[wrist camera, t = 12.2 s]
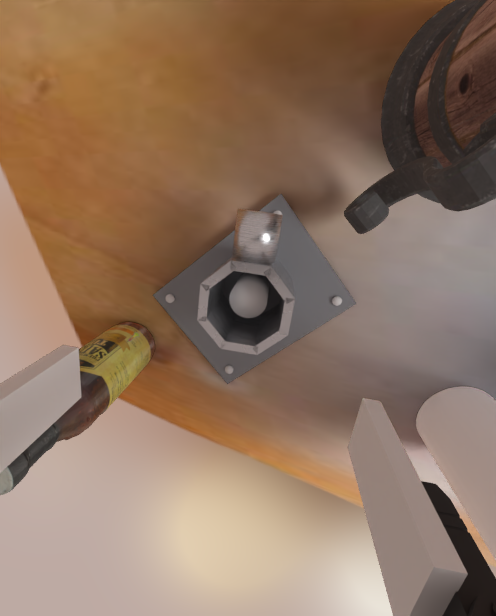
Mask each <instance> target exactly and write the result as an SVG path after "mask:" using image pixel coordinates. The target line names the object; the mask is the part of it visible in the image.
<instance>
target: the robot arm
mask: <svg viewBox="0 0 496 616" xmlns="http://www.w3.org/2000/svg"><path fill="white" fill-rule="evenodd" d="M80 398H81V381H80V363H79V348H78V347H73V346H67V345H62V346H60V347H59V348H57V349H56V350H54V351H52V352H51V353H49V354H47V355H46V356H44V357H43V358H41V359H39V360H38V361H36V362H35V363H33V364H31V365H30V366H28V367H26V368H25V369H23V370H22V371H20V372H18V373H17V374H15V375H14V376H12V377H10V378H9V379H7V380H5V381H4V382H2V383H1V384H0V473H1V472H2V471H3V470H4V469H5V468H6V467H7V466H8V465H10V464H11V463H12V462H13V461H14V460H15V459H16V458H17V457H18V456H19V455H20V454H21V453H22V452H23V451H25V450H26V449H27V448H28V447H29V446H30V445H31V444H32V443H33V442H34V441H35V440H36V439H37V438H38V437H40V436H41V435H42V434H43V433H44V432H45V431H46V430H47V429H48V428H49V427H50V426H51V425H52V424H53V423H54V422H56V421H57V420H58V419H59V418H60V417H61V416H62V415H63V414H64V413H65V412H66V411H67V410H68V409H69V408H71V407H72V406H73V405H74V404H75V403H76V402H77V401H78V400H79V399H80ZM348 450H349V454H350V458H351V461H352V465H353V469H354V472H355V476H356V480H357V483H358V487H359V491H360V495H361V498H362V502H363V506H364V509H365V513H366V517H367V520H368V524H369V528H370V531H371V535H372V539H373V542H374V546H375V550H376V554H377V557H378V561H379V565H380V568H381V572H382V576H383V579H384V583H385V587H386V591H387V594H388V598H389V602H390V605H391V609H392V613H393V616H496V578H495V576H494V575H493V573H492V571H491V570H490V568H489V566H488V564H487V562H486V561H485V559H484V557H483V555H482V554H481V552H480V550H479V549H478V547H477V545H476V543H475V542H474V540H473V538H472V536H471V535H470V533H468V532H467V528H466V526H465V524H464V522H463V521H462V519H460V518H459V514H458V512H457V510H456V509H455V507H454V505H453V503H452V502H451V500H450V498H449V497H448V496H447V495H446V494H445V493H444V492H443V491H442V490H441V489H440V488H439V487H438V486H437V485H436V484H433V483H428V482H422V481H421V480H420V478H419V476H418V474H417V472H416V470H415V468H414V467H413V465H412V463H411V461H410V459H409V457H408V455H407V453H406V451H405V449H404V447H403V445H402V443H401V441H400V439H399V437H398V435H397V433H396V431H395V429H394V427H393V425H392V423H391V421H390V419H389V417H388V415H387V413H386V411H385V409H384V407H383V405H382V403H381V401H378V400H372V399H366V398H363V399H362V402H361V405H360V408H359V412H358V415H357V418H356V422H355V425H354V428H353V432H352V435H351V438H350V441H349V445H348Z"/></svg>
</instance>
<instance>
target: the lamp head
mask: <svg viewBox="0 0 496 616" xmlns="http://www.w3.org/2000/svg"><path fill="white" fill-rule="evenodd" d="M282 217H283V215H280V214H274V213H268V212H261V211H254V210H246V209H237V218H236V226H235V235H234V243H233V252H232V257H231V258H230V259H228V260H227V261H226V262H224V263H223V264H222V265H221V266H219V267H218V268H217V269H216V270H215V271H214V272H213V273H212V274H211V275H209V276H208V277H207V278H206V279H205V280H204V281H203V282H202V283H201V284H200V294H199V306H198V317H197V321H198V322H199V323H200V324H201V325H202V327H203V328H204V329H205V330H206V332H207V333H208V334H209V335H210V336H211V338H212V339H213V340H214V341H215V342H216V344H217V345H218V346H219V347H220V348H221V349H225V350H231V351H237V352H243V353H249V354H254V355H258V354H260V353H261V352H263V351H264V350H266V349H267V348H269V347H271V346H272V345H274V344H275V343H277V342H278V341H280V340H282V339H283V338H285V337H286V336H288V333H289V328H290V323H291V318H292V312H293V307H294V302H295V295H294V288H293V281H292V277H291V276H290V274H289V273H288V272H287V270H286V269H285V267H284V266H283V265H282V263H281V262H280V261H279V259H278V258H277V256H276V254H277V248H278V241H279V235H280V229H281V223H282ZM233 271H238V272H245V273H251V274H258V275H264V276H266V277H267V278H268V279H269V281H270V282H271V283H272V285H273V286H274V287H275V289H276V290H277V291H278V293H279V294H280V295H281V300H280V303H279V304H278V305H276V306H275V307H273V308H272V309H270V310H269V311H267V312H266V313H264V314H263V315H261V316H259V315H258V316H256V317H253V318H245V317H241V316H239V315H238V314H236V313H235V312H234V311H233V309H232V308H231V305H230V302H229V300H228V299H227V298H226V296H225V295H224V294H223V293H224V284H225V277H226V276H228V275H229V274H230V273H232V272H233Z"/></svg>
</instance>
